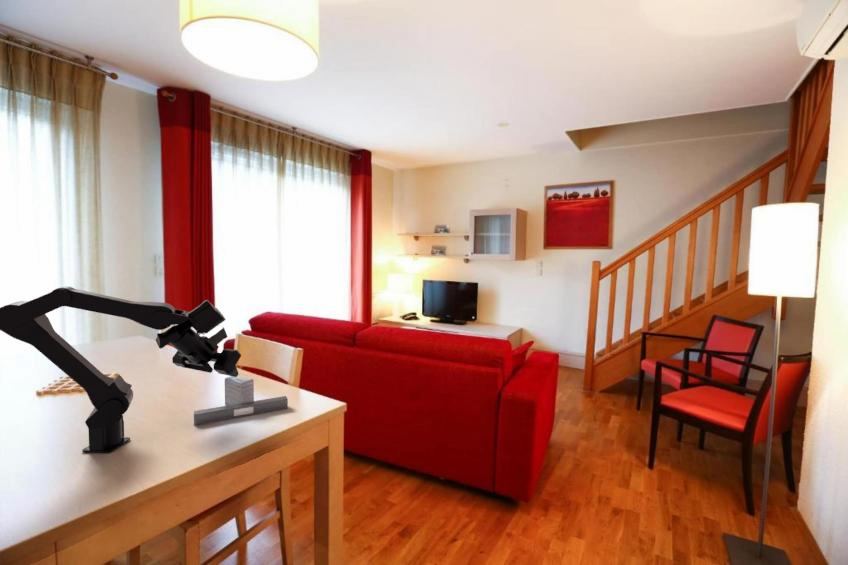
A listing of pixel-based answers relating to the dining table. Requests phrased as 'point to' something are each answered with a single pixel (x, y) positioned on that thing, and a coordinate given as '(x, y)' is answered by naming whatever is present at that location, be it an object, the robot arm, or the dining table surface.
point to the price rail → (239, 410)
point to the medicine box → (238, 390)
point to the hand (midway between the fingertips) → (224, 373)
